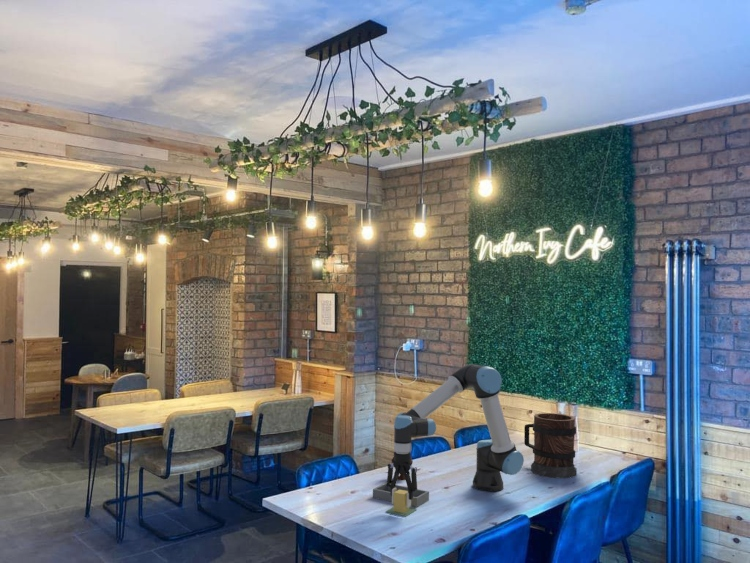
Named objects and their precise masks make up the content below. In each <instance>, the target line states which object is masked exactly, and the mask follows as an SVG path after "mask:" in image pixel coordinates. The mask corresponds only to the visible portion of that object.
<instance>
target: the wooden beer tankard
mask: <svg viewBox="0 0 750 563" xmlns="http://www.w3.org/2000/svg"><path fill="white" fill-rule="evenodd" d="M523 427H524V429H523V430H524V446H526V447H528V448H530V449H532V453H533V456H534V460H533V461H532V463H531V464H530V471H531V472H532V473H533V474H536V475H537V476H542V477H547V478H554V479H571V478H574V477H576V476H577V474H578V473H577V472H578V469H577V467H576V466H575V464H574V459H575V458H576V450H575V435H576V434H577V427H576V418H575V417H574V416H572V415H568V414H564V413H563V414H561V413H555V412H551V413H550V412H545V413H544V412H541V413H536V414H535V413H534V415H533V423H529V424H525V425H524V426H523ZM530 428H532V431H533V432H534V433H533V435H534V436H533V441H534V442H533V443H532V444H531V443H530ZM570 477H571V478H570Z"/></svg>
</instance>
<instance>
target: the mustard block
mask: <svg viewBox="0 0 750 563" xmlns="http://www.w3.org/2000/svg"><path fill="white" fill-rule="evenodd" d="M407 492H408V491H405V490H400V489H399V490H397V491H396V492H394V504H393V507H394V511H396V512H401V513H405V512H406V511H408V510H409V508H410V507H408V508H407Z"/></svg>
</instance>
